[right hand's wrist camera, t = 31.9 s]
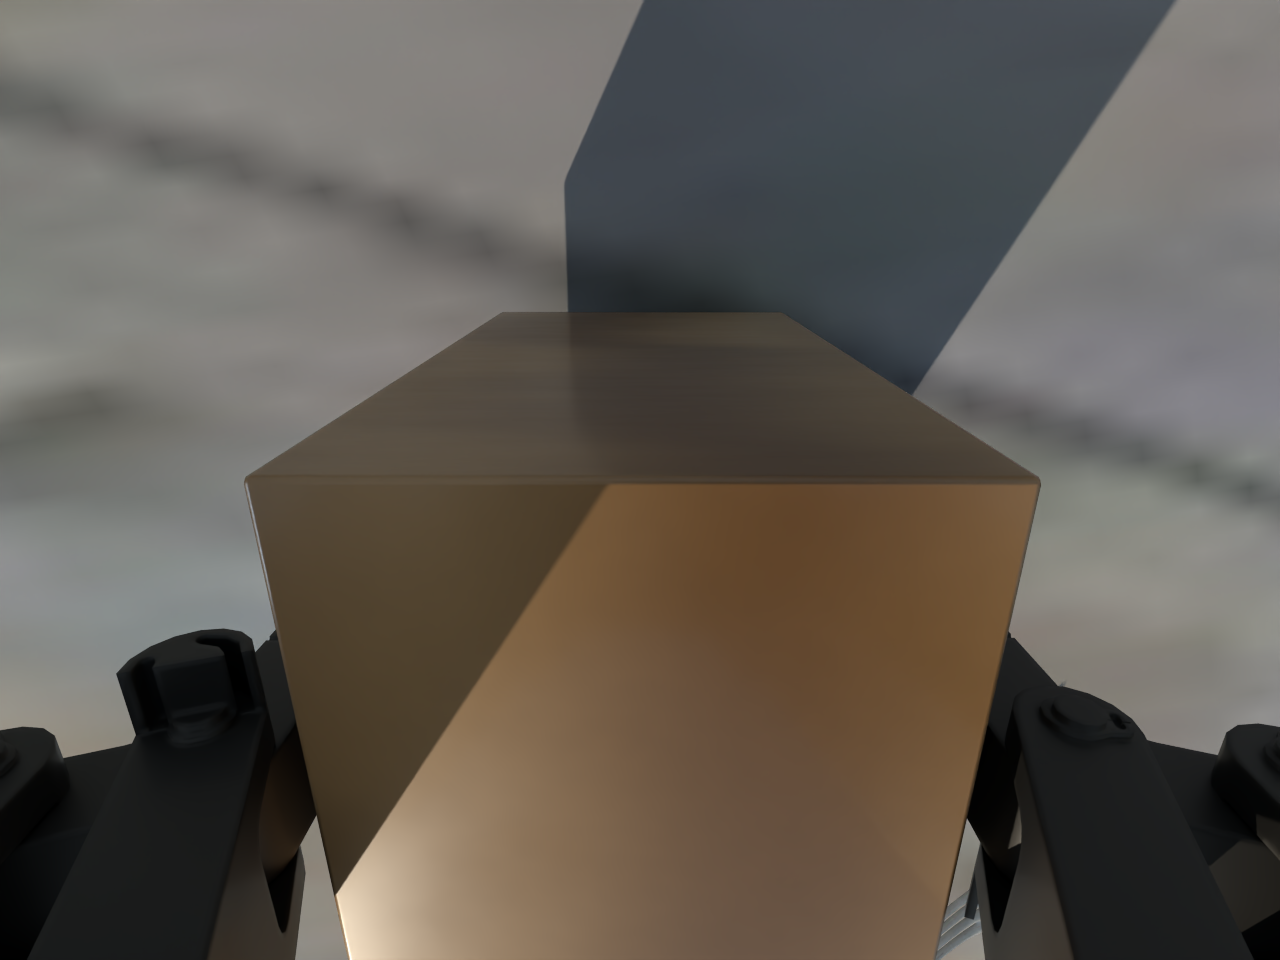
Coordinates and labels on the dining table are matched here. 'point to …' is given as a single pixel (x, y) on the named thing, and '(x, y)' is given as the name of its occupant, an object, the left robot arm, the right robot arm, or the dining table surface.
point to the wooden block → (642, 643)
